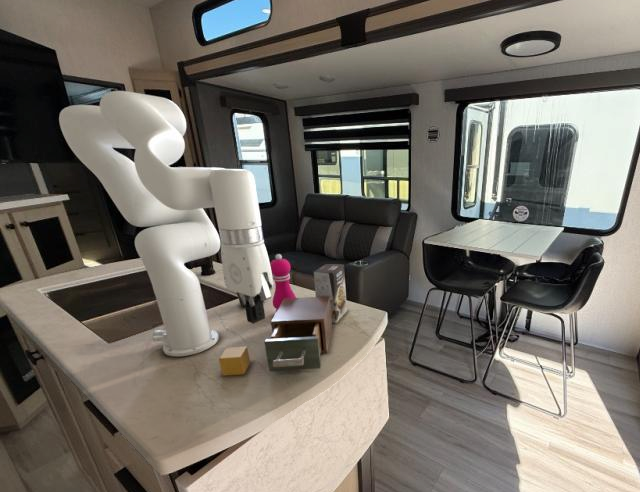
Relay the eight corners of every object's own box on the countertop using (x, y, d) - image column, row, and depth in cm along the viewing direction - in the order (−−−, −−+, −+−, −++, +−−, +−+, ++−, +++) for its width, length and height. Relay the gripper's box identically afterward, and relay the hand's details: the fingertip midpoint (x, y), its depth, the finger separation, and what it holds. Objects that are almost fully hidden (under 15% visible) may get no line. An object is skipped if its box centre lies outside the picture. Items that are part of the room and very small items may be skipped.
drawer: (317, 382, 68) (314, 350, 66) (262, 385, 67) (257, 354, 65) (326, 338, 86) (324, 312, 83) (283, 341, 84) (279, 314, 82)
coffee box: (337, 323, 96) (333, 273, 90) (317, 321, 97) (312, 271, 91) (347, 311, 104) (344, 264, 99) (329, 309, 105) (325, 262, 100)
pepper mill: (269, 317, 100) (259, 255, 93) (285, 308, 106) (277, 250, 99) (287, 321, 97) (279, 258, 91) (303, 311, 104) (295, 252, 97)
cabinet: (327, 352, 81) (323, 318, 77) (276, 355, 80) (270, 321, 76) (332, 326, 94) (329, 296, 91) (288, 328, 93) (284, 298, 90)
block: (222, 375, 72) (218, 358, 70) (230, 364, 76) (226, 347, 75) (243, 374, 72) (240, 357, 71) (250, 362, 77) (247, 346, 75)
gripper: (201, 235, 62) (219, 318, 69) (249, 244, 55) (264, 336, 62) (236, 229, 69) (250, 306, 75) (283, 236, 61) (294, 321, 68)
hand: (256, 320), depth 68 cm, fingers closed
